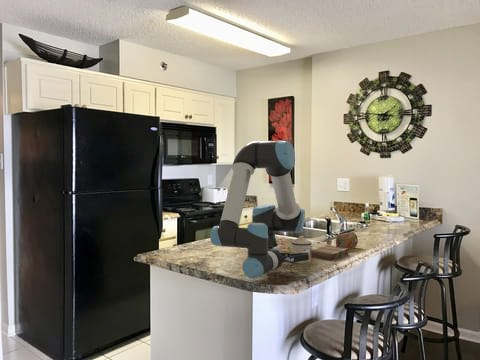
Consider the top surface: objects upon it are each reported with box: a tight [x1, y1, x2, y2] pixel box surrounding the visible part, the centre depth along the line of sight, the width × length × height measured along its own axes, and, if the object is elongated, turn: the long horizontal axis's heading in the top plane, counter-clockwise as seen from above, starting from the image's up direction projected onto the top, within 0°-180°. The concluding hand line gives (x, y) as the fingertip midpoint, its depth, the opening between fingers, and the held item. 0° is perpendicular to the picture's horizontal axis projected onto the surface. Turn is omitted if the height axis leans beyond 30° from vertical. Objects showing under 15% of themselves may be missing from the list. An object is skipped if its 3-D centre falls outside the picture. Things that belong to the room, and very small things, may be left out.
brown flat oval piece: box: [335, 232, 359, 251], centre depth 203 cm, size 15×3×8 cm, turn 126°
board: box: [311, 244, 349, 261], centre depth 188 cm, size 16×12×3 cm
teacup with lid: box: [291, 235, 313, 264], centre depth 178 cm, size 12×9×12 cm
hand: (294, 250), depth 170 cm, fingers open, 13 cm apart
